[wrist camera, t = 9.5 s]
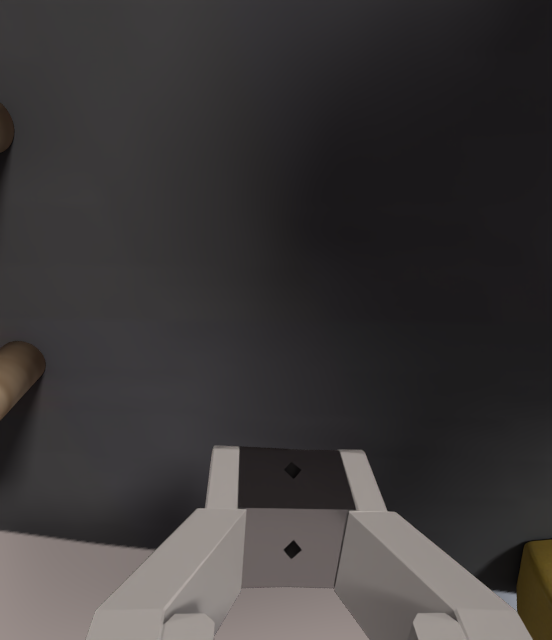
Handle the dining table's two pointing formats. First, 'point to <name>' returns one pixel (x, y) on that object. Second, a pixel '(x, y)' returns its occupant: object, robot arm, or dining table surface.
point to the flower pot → (536, 589)
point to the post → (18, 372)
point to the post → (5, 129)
